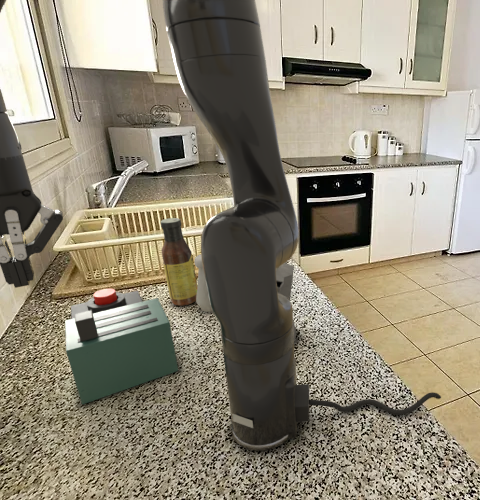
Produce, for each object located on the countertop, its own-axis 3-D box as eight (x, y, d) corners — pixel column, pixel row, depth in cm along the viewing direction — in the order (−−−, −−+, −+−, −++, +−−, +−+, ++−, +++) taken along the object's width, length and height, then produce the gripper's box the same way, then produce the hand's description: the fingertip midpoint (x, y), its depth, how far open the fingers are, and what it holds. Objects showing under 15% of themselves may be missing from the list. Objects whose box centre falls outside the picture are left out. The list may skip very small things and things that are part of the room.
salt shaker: (215, 315, 82) (208, 261, 78) (192, 312, 84) (184, 259, 79) (228, 303, 88) (223, 252, 83) (206, 300, 89) (200, 249, 84)
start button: (116, 295, 83) (114, 286, 82) (118, 302, 80) (116, 294, 79) (94, 299, 81) (92, 291, 80) (96, 307, 78) (93, 299, 77)
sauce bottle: (204, 298, 90) (194, 219, 82) (181, 309, 85) (168, 226, 77) (187, 291, 93) (175, 214, 86) (164, 301, 88) (149, 221, 81)
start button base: (139, 298, 89) (136, 283, 88) (146, 317, 81) (143, 300, 80) (73, 314, 82) (68, 298, 80) (74, 336, 74) (69, 318, 73)
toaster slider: (96, 329, 59) (91, 309, 57) (98, 337, 57) (92, 317, 55) (80, 333, 57) (74, 314, 56) (80, 342, 55) (74, 321, 54)
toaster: (166, 342, 73) (157, 297, 69) (178, 370, 65) (169, 321, 62) (79, 369, 65) (64, 319, 62) (82, 404, 58) (65, 350, 54)
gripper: (-115, 160, 38) (-53, 310, 44) (49, 153, 45) (83, 283, 51) (-93, 152, 43) (-40, 285, 49) (50, 147, 51) (80, 264, 57)
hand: (23, 284), depth 50 cm, fingers closed
